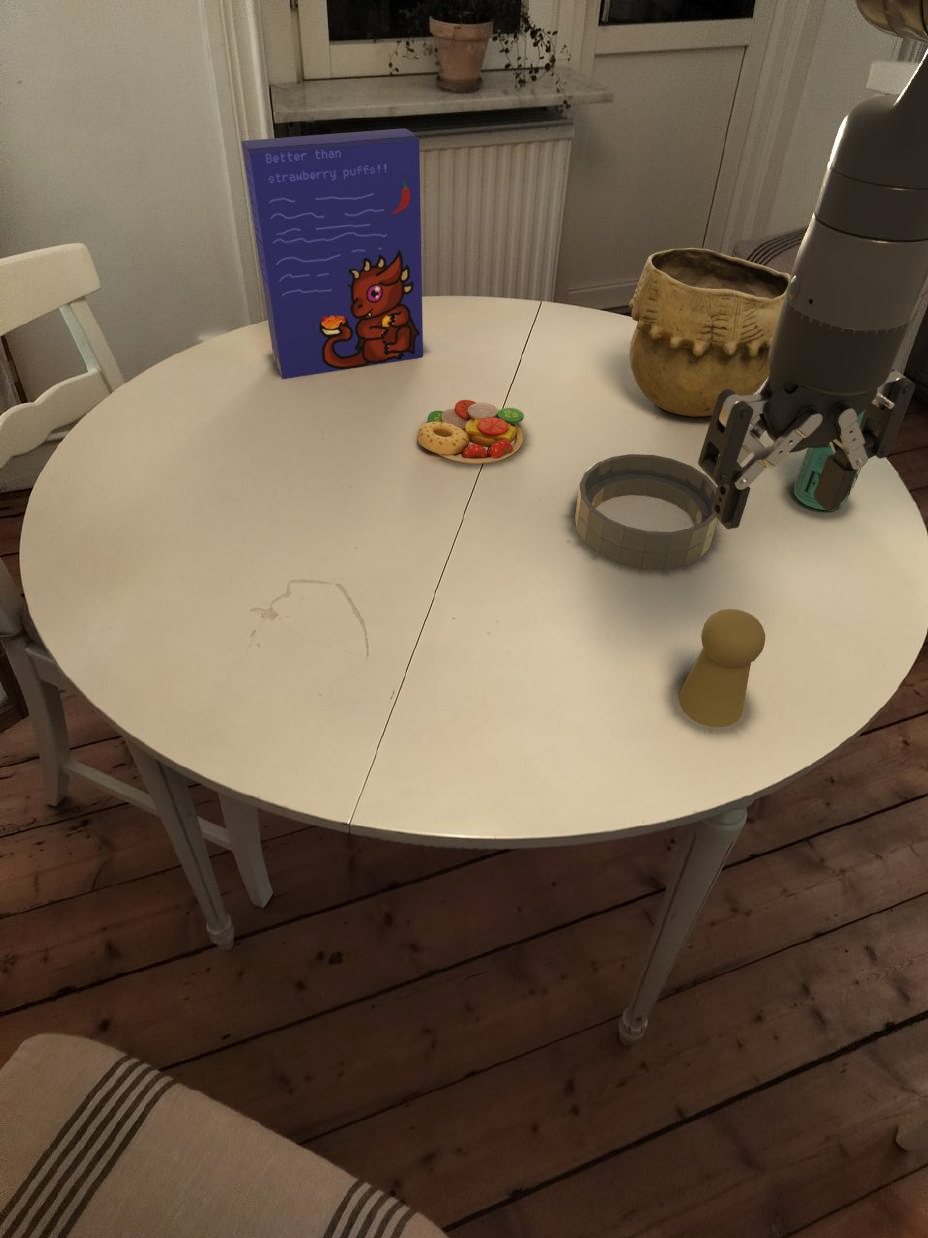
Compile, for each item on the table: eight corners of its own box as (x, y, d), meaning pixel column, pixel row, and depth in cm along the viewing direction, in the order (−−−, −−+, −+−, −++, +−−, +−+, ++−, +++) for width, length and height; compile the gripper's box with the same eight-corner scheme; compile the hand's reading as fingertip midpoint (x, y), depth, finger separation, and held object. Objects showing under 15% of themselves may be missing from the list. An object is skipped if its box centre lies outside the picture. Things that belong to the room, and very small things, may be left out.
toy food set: (408, 459, 107) (407, 437, 104) (440, 410, 116) (440, 388, 114) (508, 477, 104) (509, 455, 102) (533, 426, 113) (535, 404, 111)
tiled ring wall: (732, 525, 98) (744, 486, 94) (671, 594, 89) (681, 553, 85) (617, 478, 104) (623, 439, 101) (548, 537, 95) (553, 497, 92)
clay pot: (681, 358, 129) (709, 222, 115) (796, 415, 117) (843, 271, 103) (583, 397, 119) (601, 254, 105) (697, 463, 107) (734, 312, 93)
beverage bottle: (786, 514, 99) (841, 357, 86) (789, 485, 104) (842, 331, 90) (843, 526, 98) (909, 367, 84) (844, 495, 102) (906, 340, 89)
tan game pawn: (750, 700, 78) (783, 614, 70) (730, 743, 74) (763, 658, 66) (688, 675, 80) (714, 589, 72) (666, 716, 76) (691, 630, 69)
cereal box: (411, 340, 132) (405, 125, 111) (423, 357, 128) (419, 137, 107) (274, 361, 126) (240, 138, 105) (282, 378, 122) (249, 151, 101)
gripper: (783, 337, 47) (717, 560, 58) (988, 311, 50) (888, 527, 61) (716, 286, 52) (667, 500, 63) (905, 265, 55) (827, 472, 66)
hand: (776, 513), depth 62 cm, fingers open, 8 cm apart
